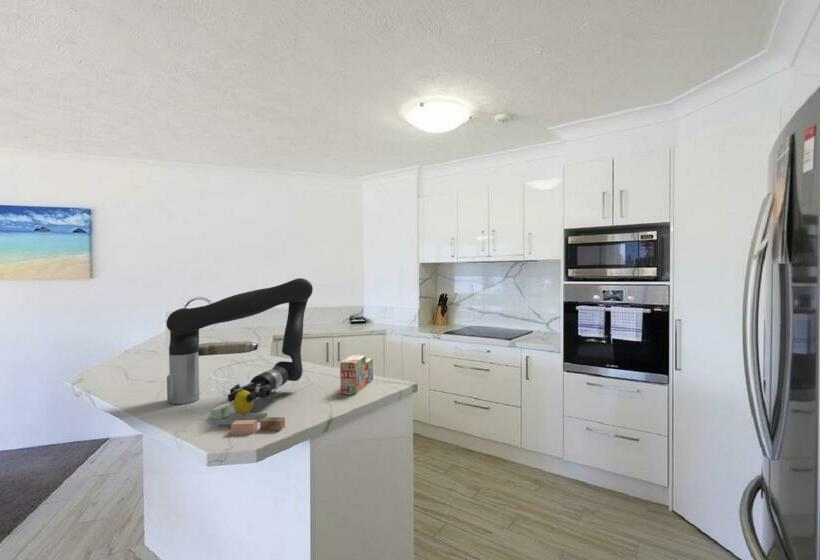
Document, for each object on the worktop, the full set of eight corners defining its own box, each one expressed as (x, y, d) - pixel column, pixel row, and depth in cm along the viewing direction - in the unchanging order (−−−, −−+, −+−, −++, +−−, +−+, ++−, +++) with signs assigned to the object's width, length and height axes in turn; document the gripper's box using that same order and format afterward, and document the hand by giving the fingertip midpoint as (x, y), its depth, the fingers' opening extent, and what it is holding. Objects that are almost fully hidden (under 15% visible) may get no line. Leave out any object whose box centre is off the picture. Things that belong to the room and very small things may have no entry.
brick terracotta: (231, 435, 109) (231, 424, 109) (235, 431, 112) (235, 420, 112) (253, 434, 110) (253, 423, 110) (257, 430, 113) (256, 419, 113)
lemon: (257, 414, 121) (256, 388, 120) (241, 420, 116) (240, 393, 116) (245, 411, 123) (245, 386, 123) (229, 417, 119) (229, 390, 119)
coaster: (218, 426, 115) (218, 423, 115) (238, 414, 125) (237, 412, 125) (250, 427, 114) (250, 425, 114) (267, 415, 124) (267, 413, 124)
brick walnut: (260, 431, 112) (260, 420, 112) (264, 427, 115) (264, 417, 115) (280, 431, 111) (280, 421, 111) (284, 427, 114) (284, 417, 114)
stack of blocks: (359, 379, 167) (358, 350, 167) (373, 380, 166) (372, 351, 166) (340, 394, 146) (339, 361, 146) (356, 395, 145) (355, 361, 145)
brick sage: (221, 419, 122) (221, 409, 122) (212, 419, 122) (212, 409, 122) (230, 412, 128) (230, 403, 128) (221, 412, 128) (221, 403, 128)
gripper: (246, 371, 135) (216, 385, 118) (286, 372, 133) (260, 386, 116) (247, 393, 135) (216, 410, 118) (286, 394, 133) (261, 411, 116)
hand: (238, 398), depth 117 cm, fingers closed on lemon, 5 cm apart
